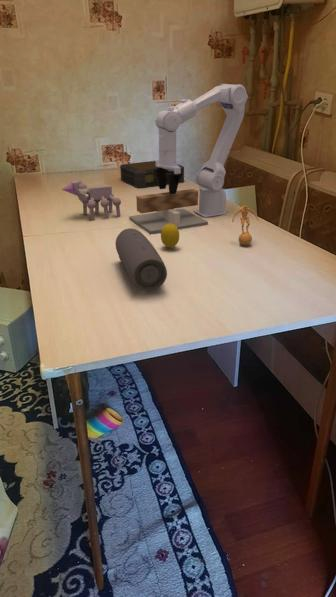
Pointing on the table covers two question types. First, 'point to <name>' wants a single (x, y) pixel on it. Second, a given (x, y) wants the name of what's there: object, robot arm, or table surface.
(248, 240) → the figurine
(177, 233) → the lemon
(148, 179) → the cash box
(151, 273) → the bluetooth speaker
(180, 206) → the walnut beam
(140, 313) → the table surface
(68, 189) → the purple toy animal
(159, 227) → the fulcrum stand
